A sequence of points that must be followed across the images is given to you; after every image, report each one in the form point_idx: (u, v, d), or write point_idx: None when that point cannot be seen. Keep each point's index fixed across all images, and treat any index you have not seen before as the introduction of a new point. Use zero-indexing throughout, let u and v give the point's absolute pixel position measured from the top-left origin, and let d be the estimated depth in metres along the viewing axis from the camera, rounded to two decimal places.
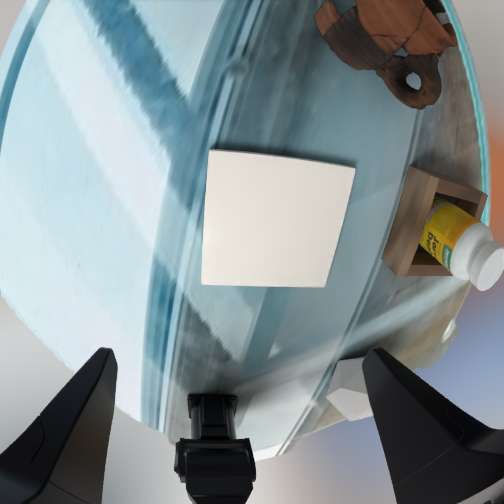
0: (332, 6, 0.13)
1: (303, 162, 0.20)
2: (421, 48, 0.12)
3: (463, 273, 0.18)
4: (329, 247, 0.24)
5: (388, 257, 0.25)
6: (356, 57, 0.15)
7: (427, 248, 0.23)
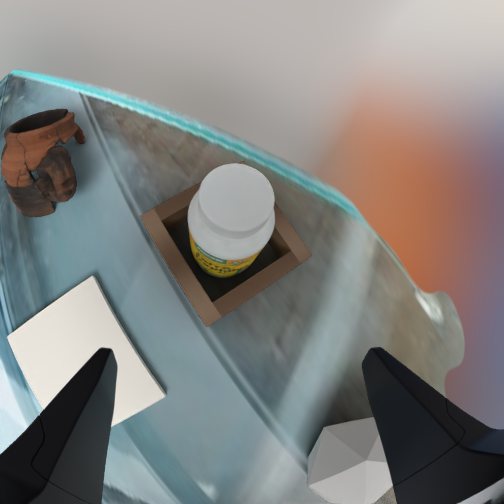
0: None
1: (54, 303, 0.19)
2: (37, 157, 0.17)
3: (230, 243, 0.16)
4: (128, 355, 0.19)
5: (201, 319, 0.21)
6: (35, 206, 0.20)
7: (218, 271, 0.20)
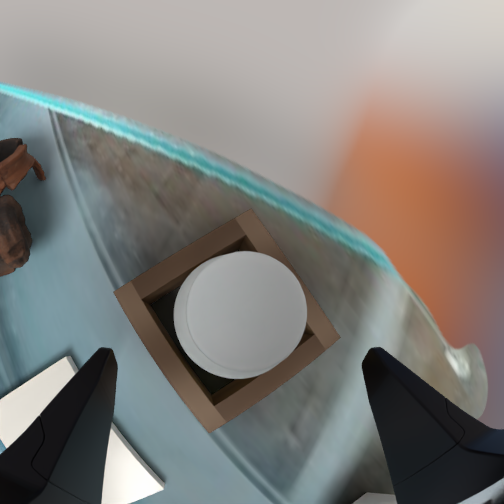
0: None
1: (28, 383, 0.13)
2: None
3: None
4: (118, 449, 0.14)
5: None
6: None
7: None
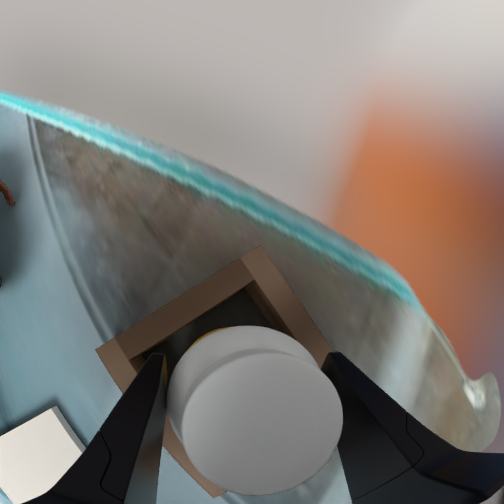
0: None
1: (15, 431, 0.10)
2: None
3: None
4: None
5: None
6: None
7: None
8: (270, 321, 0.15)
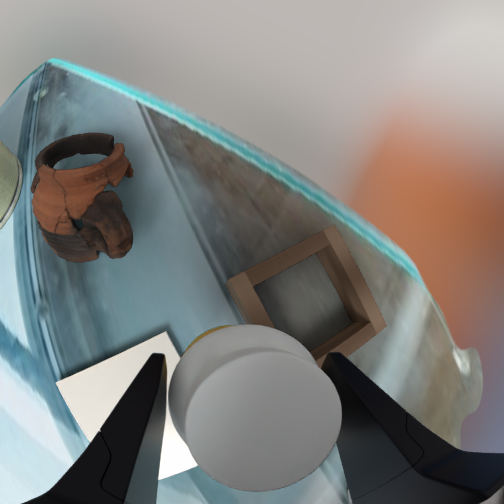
0: None
1: (118, 356, 0.19)
2: (82, 203, 0.16)
3: None
4: None
5: None
6: (76, 253, 0.19)
7: None
8: (331, 275, 0.24)
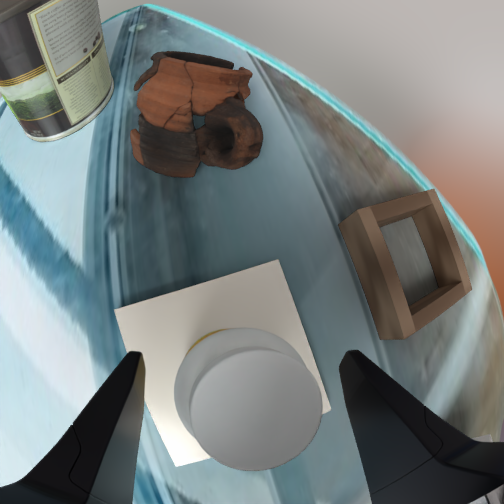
0: (135, 132, 0.18)
1: (215, 281, 0.18)
2: (210, 100, 0.15)
3: None
4: (305, 361, 0.17)
5: (384, 330, 0.19)
6: (175, 161, 0.18)
7: None
8: (426, 237, 0.22)
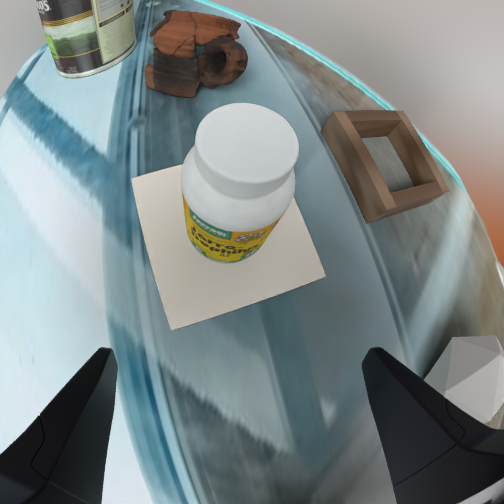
0: (149, 65, 0.21)
1: None
2: (209, 36, 0.18)
3: (237, 207, 0.12)
4: (297, 225, 0.20)
5: (369, 211, 0.22)
6: (180, 82, 0.21)
7: (219, 252, 0.16)
8: (401, 150, 0.25)
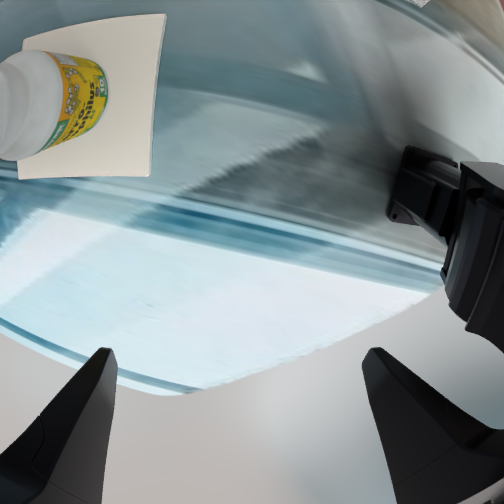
0: None
1: None
2: None
3: (34, 119, 0.08)
4: (102, 27, 0.12)
5: None
6: None
7: (87, 119, 0.12)
8: None
